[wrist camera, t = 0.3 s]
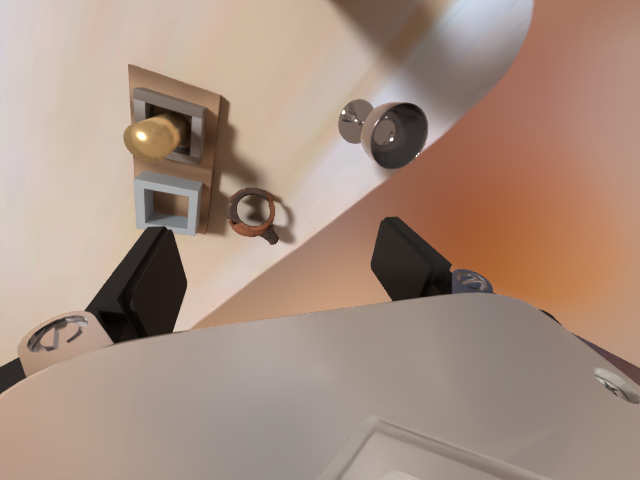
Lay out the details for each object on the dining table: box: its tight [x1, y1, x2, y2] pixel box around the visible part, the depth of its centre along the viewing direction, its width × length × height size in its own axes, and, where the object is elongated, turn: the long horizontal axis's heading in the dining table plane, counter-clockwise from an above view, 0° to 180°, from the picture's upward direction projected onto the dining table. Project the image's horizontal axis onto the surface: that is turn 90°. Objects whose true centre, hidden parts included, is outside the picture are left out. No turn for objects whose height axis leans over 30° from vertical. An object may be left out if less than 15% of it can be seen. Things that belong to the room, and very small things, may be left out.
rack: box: [134, 170, 202, 236], centre depth 39 cm, size 8×8×4 cm
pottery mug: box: [226, 188, 279, 245], centre depth 45 cm, size 12×10×8 cm
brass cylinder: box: [124, 112, 191, 163], centre depth 30 cm, size 4×4×12 cm
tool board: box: [128, 64, 221, 234], centre depth 37 cm, size 24×11×5 cm, turn 163°
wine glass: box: [338, 99, 428, 169], centre depth 36 cm, size 8×8×15 cm
